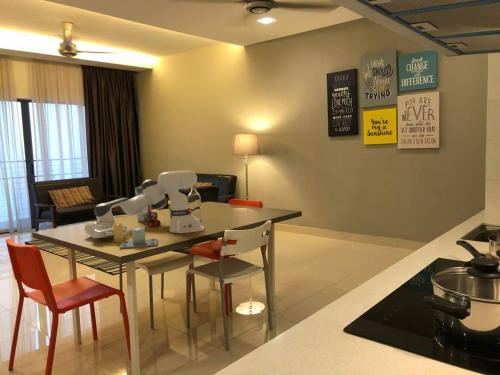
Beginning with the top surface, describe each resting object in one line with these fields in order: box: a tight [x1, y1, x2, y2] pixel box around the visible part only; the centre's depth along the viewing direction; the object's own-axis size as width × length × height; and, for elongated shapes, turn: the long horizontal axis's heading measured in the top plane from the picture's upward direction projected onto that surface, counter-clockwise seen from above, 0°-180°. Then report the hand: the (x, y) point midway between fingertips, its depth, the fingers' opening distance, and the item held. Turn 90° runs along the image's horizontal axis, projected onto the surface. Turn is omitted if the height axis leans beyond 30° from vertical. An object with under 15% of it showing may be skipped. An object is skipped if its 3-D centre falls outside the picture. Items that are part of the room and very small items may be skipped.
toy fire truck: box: [145, 211, 162, 228], centre depth 283 cm, size 7×12×10 cm, turn 39°
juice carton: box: [134, 185, 153, 223], centre depth 303 cm, size 9×10×27 cm
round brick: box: [112, 222, 125, 243], centre depth 241 cm, size 6×6×11 cm
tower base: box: [119, 227, 159, 250], centre depth 231 cm, size 20×14×9 cm
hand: (119, 232), depth 241 cm, fingers open, 8 cm apart
